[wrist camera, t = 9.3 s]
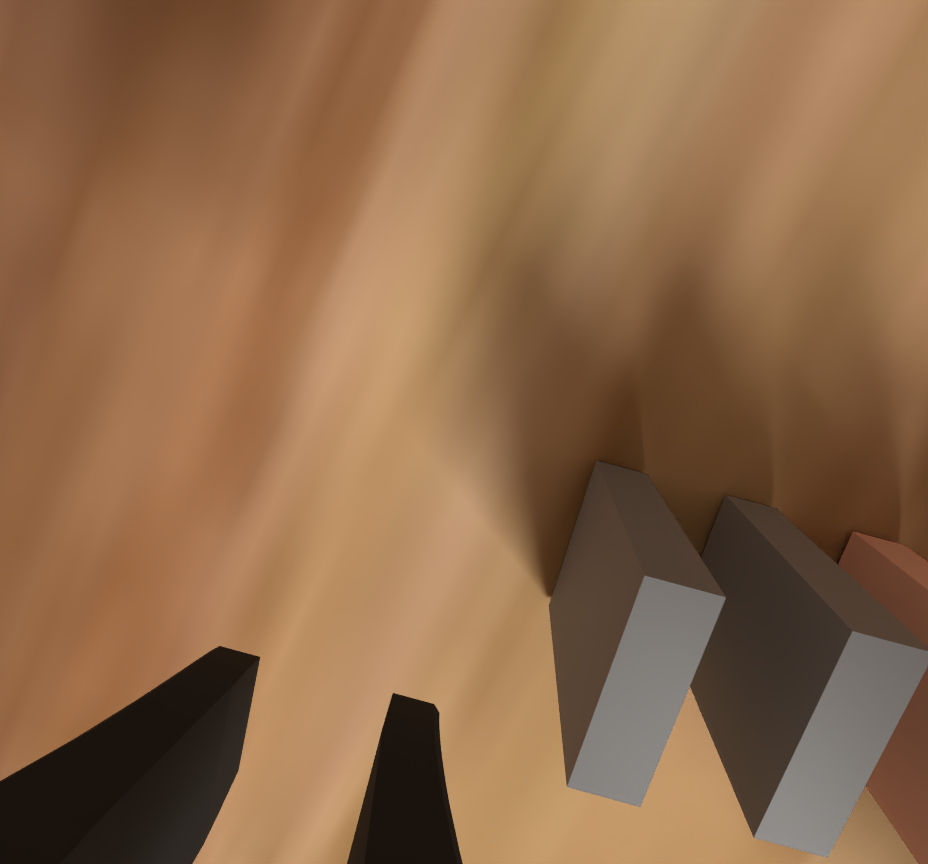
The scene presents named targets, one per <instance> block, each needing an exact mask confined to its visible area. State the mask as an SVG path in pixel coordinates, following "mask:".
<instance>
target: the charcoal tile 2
mask: <svg viewBox="0 0 928 864" xmlns="http://www.w3.org/2000/svg"><path fill="white" fill-rule="evenodd" d="M701 559H702V560H703V562H704V564H705V565H706V567H707V568H708V570H709V571H710V573H711V575H712V576H713V578H714V579H715V581H716V582H717V584H718V586H719V587H720V589H721V590H722V592H723V593H724V595H725V596H726V599H725V601H724V604H723V606H722V609H721V611H720V614H719V616H718V619H717V621H716V623H715V626H714V628H713V631H712V633H711V636H710V638H709V641H708V643H707V645H706V648H705V650H704V653H703V655H702V658H701V660H700V662H699V665H698V667H697V670H696V672H695V675H694V677H693V680H692V682H691V684H690V687H691V690H692V692H693V694H694V697H695V699H696V702H697V704H698V706H699V709H700V711H701V713H702V716H703V718H704V721H705V723H706V725H707V728H708V730H709V732H710V735H711V737H712V740H713V742H714V744H715V747H716V749H717V752H718V754H719V756H720V759H721V761H722V763H723V766H724V768H725V771H726V773H727V775H728V778H729V780H730V782H731V785H732V787H733V790H734V792H735V794H736V797H737V799H738V801H739V804H740V806H741V809H742V811H743V813H744V816H745V818H746V820H747V823H748V825H749V828H750V830H751V832H752V835H753V837H754V838H757V839H760V840H764V841H768V842H771V843H775V844H779V845H782V846H786V847H790V848H793V849H797V850H801V851H805V852H808V853H812V854H816V855H819V856H823V857H827V858H828V856H829V854H830V852H831V850H832V848H833V846H834V844H835V842H836V841H837V839H838V837H839V835H840V833H841V831H842V829H843V827H844V825H845V823H846V821H847V820H848V818H849V816H850V814H851V812H852V810H853V808H854V806H855V804H856V802H857V800H858V799H859V797H860V795H861V793H862V791H863V789H864V787H865V785H866V783H867V781H868V779H869V777H870V776H871V774H872V772H873V770H874V768H875V766H876V764H877V762H878V760H879V758H880V756H881V755H882V753H883V751H884V749H885V747H886V745H887V743H888V741H889V739H890V737H891V735H892V734H893V732H894V730H895V728H896V726H897V724H898V722H899V720H900V718H901V716H902V714H903V713H904V711H905V709H906V707H907V705H908V703H909V701H910V699H911V697H912V695H913V693H914V691H915V690H916V688H917V686H918V684H919V682H920V680H921V678H922V676H923V674H924V672H925V670H926V669H927V667H928V647H927V646H926V645H925V644H924V643H923V642H922V641H921V640H920V639H919V638H918V637H916V636H915V635H914V634H913V633H912V632H911V631H910V630H909V629H908V628H907V627H906V626H904V625H903V624H902V623H901V622H900V621H899V620H898V619H897V618H896V617H895V616H893V615H892V614H891V613H890V612H889V611H888V610H887V609H886V608H885V607H884V606H883V605H881V604H880V603H879V602H878V601H877V600H876V599H875V598H874V597H873V596H872V595H871V594H869V593H868V592H867V591H866V590H865V589H864V588H863V587H862V586H861V585H860V584H859V583H857V582H856V581H855V580H854V579H853V578H852V577H851V576H850V575H849V574H848V573H847V572H845V571H844V570H843V569H842V568H841V567H840V566H839V565H838V564H837V563H836V562H835V561H833V560H832V559H831V558H830V557H829V556H828V555H827V554H826V553H825V552H824V551H823V550H821V549H820V548H819V547H818V546H817V545H816V544H815V543H814V542H813V541H812V540H810V539H809V538H808V537H807V536H806V535H805V534H804V533H803V532H802V531H801V530H800V529H798V528H797V527H796V526H795V525H794V524H793V523H792V522H791V521H790V520H789V519H788V518H786V517H785V516H784V515H783V514H782V513H781V512H780V511H779V510H778V509H777V508H773V507H769V506H765V505H762V504H758V503H754V502H750V501H747V500H743V499H739V498H735V497H732V496H728V495H725V497H724V500H723V502H722V505H721V508H720V510H719V513H718V515H717V518H716V520H715V523H714V526H713V528H712V531H711V533H710V536H709V538H708V541H707V543H706V546H705V549H704V551H703V554H702V556H701Z"/></svg>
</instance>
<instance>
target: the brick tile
mask: <svg viewBox="0 0 928 864" xmlns="http://www.w3.org/2000/svg"><path fill="white" fill-rule="evenodd" d="M838 565H839V566H840V567H841V568H842V569H843V570H844V571H845V572H847V573H848V574H849V575H850V576H851V577H852V578H853V579H854V580H855V581H856V582H857V583H859V584H860V585H861V586H862V587H863V588H864V589H865V590H866V591H867V592H868V593H869V594H871V595H872V596H873V597H874V598H875V599H876V600H877V601H878V602H879V603H880V604H881V605H883V606H884V607H885V608H886V609H887V610H888V611H889V612H890V613H891V614H892V615H893V616H895V617H896V618H897V619H898V620H899V621H900V622H901V623H902V624H903V625H904V626H906V627H907V628H908V629H909V630H910V631H911V632H912V633H913V634H914V635H915V636H916V637H918V638H919V639H920V640H921V641H922V642H923V643H924V644H925V645H926V646H927V647H928V562H927V561H926V560H925V559H923V558H922V557H920V556H919V555H918V554H916V553H915V552H913V551H912V550H911V549H909V548H908V547H906V546H905V545H902V544H898V543H895V542H891V541H887V540H883V539H880V538H876V537H872V536H868V535H865V534H861V533H857V532H853V533H852V535H851V537H850V539H849V541H848V544H847V546H846V548H845V550H844V552H843V555H842V557H841V559H840V561H839V563H838ZM866 787H867V788H868V790H869V791H870V793H871V794H872V796H873V797H874V798H875V800H876V801H877V803H878V804H879V806H880V807H881V809H882V810H883V812H884V813H885V815H886V816H887V818H888V819H889V821H890V822H891V824H892V825H893V826H894V828H895V829H896V831H897V832H898V834H899V835H900V837H901V838H902V840H903V841H904V843H905V844H906V846H907V847H908V849H909V850H910V852H911V853H912V855H913V856H914V857H915V859H916V860H917V862H918V863H919V864H928V667H927V669H926V670H925V672H924V674H923V676H922V678H921V680H920V682H919V684H918V686H917V688H916V690H915V691H914V693H913V695H912V697H911V699H910V701H909V703H908V705H907V707H906V709H905V711H904V713H903V714H902V716H901V718H900V720H899V722H898V724H897V726H896V728H895V730H894V732H893V734H892V735H891V737H890V739H889V741H888V743H887V745H886V747H885V749H884V751H883V753H882V755H881V756H880V758H879V760H878V762H877V764H876V766H875V768H874V770H873V772H872V774H871V776H870V777H869V779H868V781H867V783H866Z"/></svg>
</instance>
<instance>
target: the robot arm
mask: <svg viewBox="0 0 928 864" xmlns="http://www.w3.org/2000/svg"><path fill="white" fill-rule="evenodd" d="M259 660H260V657H258V656H254V655H251V654H247V653H243V652H240V651H236V650H232V649H228V648H225V647H221V646H219V647H217V648H215V649H213V650H211V651H210V652H208V653H207V654H205V655H204V656H202V657H201V658H199V659H198V660H196V661H195V662H193V663H192V664H190V665H189V666H187V667H186V668H184V669H183V670H181V671H180V672H178V673H177V674H175V675H174V676H172V677H171V678H169V679H168V680H166V681H165V682H163V683H162V684H160V685H159V686H157V687H156V688H154V689H153V690H151V691H150V692H148V693H147V694H145V695H144V696H142V697H141V698H139V699H138V700H136V701H134V702H133V703H131V704H130V705H128V706H126V707H125V708H123V709H122V710H120V711H118V712H117V713H115V714H114V715H112V716H110V717H109V718H107V719H106V720H104V721H102V722H101V723H99V724H98V725H96V726H94V727H93V728H91V729H90V730H88V731H86V732H85V733H83V734H82V735H80V736H78V737H77V738H75V739H73V740H72V741H70V742H68V743H66V744H65V745H63V746H61V747H59V748H58V749H56V750H54V751H52V752H51V753H49V754H47V755H45V756H44V757H42V758H40V759H38V760H37V761H35V762H33V763H31V764H30V765H28V766H26V767H24V768H22V769H21V770H19V771H17V772H15V773H14V774H12V775H10V776H8V777H7V778H5V779H3V780H1V781H0V864H192V863H193V861H194V860H195V858H196V856H197V855H198V853H199V851H200V849H201V848H202V846H203V844H204V842H205V840H206V838H207V836H208V834H209V832H210V830H211V828H212V826H213V824H214V822H215V819H216V817H217V815H218V813H219V811H220V809H221V807H222V805H223V803H224V800H225V798H226V796H227V794H228V792H229V790H230V787H231V785H232V783H233V781H234V779H235V777H236V774H237V772H238V770H239V764H240V759H241V754H242V749H243V744H244V738H245V733H246V728H247V723H248V718H249V712H250V707H251V702H252V697H253V692H254V686H255V681H256V676H257V671H258V666H259ZM347 864H463V863H462V859H461V855H460V851H459V847H458V842H457V837H456V833H455V828H454V823H453V819H452V814H451V809H450V805H449V799H448V794H447V788H446V782H445V775H444V768H443V762H442V753H441V744H440V730H439V712H438V710H437V708H436V707H435V705H434V704H432V703H428V702H424V701H421V700H417V699H413V698H409V697H406V696H402V695H398V694H395V693H393V695H392V698H391V701H390V705H389V708H388V711H387V715H386V718H385V722H384V725H383V728H382V732H381V736H380V740H379V744H378V747H377V751H376V755H375V759H374V763H373V767H372V770H371V774H370V778H369V782H368V786H367V790H366V793H365V797H364V801H363V805H362V809H361V812H360V816H359V820H358V824H357V828H356V832H355V835H354V839H353V843H352V847H351V851H350V854H349V858H348V862H347Z"/></svg>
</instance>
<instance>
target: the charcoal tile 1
mask: <svg viewBox="0 0 928 864" xmlns="http://www.w3.org/2000/svg"><path fill="white" fill-rule="evenodd" d="M725 599H726V596H725V595H724V593H723V592H722V590H721V589H720V587H719V586H718V584H717V582H716V581H715V579H714V578H713V576H712V575H711V573H710V571H709V570H708V568H707V567H706V565H705V564H704V562H703V560H702V559H701V557H700V556H699V554H698V553H697V551H696V550H695V548H694V546H693V545H692V543H691V542H690V540H689V539H688V537H687V535H686V534H685V532H684V531H683V529H682V528H681V526H680V525H679V523H678V521H677V520H676V518H675V517H674V515H673V514H672V512H671V510H670V509H669V507H668V506H667V504H666V503H665V501H664V500H663V498H662V496H661V495H660V493H659V492H658V490H657V489H656V487H655V485H654V484H653V482H652V481H651V479H650V478H649V476H648V475H647V474H645V473H641V472H638V471H634V470H630V469H626V468H623V467H619V466H615V465H611V464H608V463H604V462H600V461H596V463H595V466H594V469H593V472H592V475H591V478H590V481H589V484H588V487H587V490H586V493H585V496H584V499H583V503H582V506H581V509H580V512H579V515H578V518H577V521H576V524H575V527H574V530H573V533H572V536H571V539H570V542H569V545H568V549H567V552H566V555H565V558H564V561H563V564H562V567H561V570H560V573H559V576H558V579H557V582H556V585H555V588H554V591H553V595H552V598H551V601H550V604H549V611H550V621H551V631H552V641H553V651H554V661H555V671H556V682H557V692H558V702H559V712H560V722H561V732H562V742H563V752H564V762H565V772H566V782H567V787H569V788H573V789H576V790H580V791H583V792H587V793H591V794H594V795H598V796H602V797H605V798H609V799H613V800H616V801H620V802H624V803H627V804H631V805H635V806H638V807H640V806H641V804H642V802H643V799H644V797H645V794H646V792H647V789H648V787H649V784H650V782H651V780H652V777H653V775H654V772H655V770H656V767H657V765H658V763H659V760H660V758H661V755H662V753H663V750H664V748H665V745H666V743H667V741H668V738H669V736H670V733H671V731H672V728H673V726H674V723H675V721H676V719H677V716H678V714H679V711H680V709H681V706H682V704H683V702H684V699H685V697H686V694H687V692H688V689H689V687H690V684H691V682H692V680H693V677H694V675H695V672H696V670H697V667H698V665H699V662H700V660H701V658H702V655H703V653H704V650H705V648H706V645H707V643H708V641H709V638H710V636H711V633H712V631H713V628H714V626H715V623H716V621H717V619H718V616H719V614H720V611H721V609H722V606H723V604H724V601H725Z"/></svg>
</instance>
